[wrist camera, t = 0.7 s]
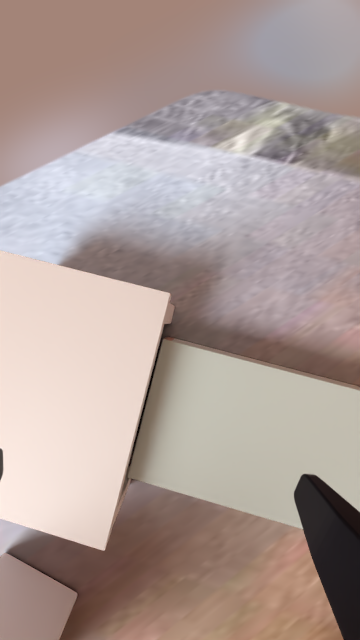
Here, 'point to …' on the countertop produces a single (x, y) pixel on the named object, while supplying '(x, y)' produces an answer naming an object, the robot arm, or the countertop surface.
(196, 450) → the cream rectangular slab
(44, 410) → the overhang
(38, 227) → the countertop surface
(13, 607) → the milk carton
